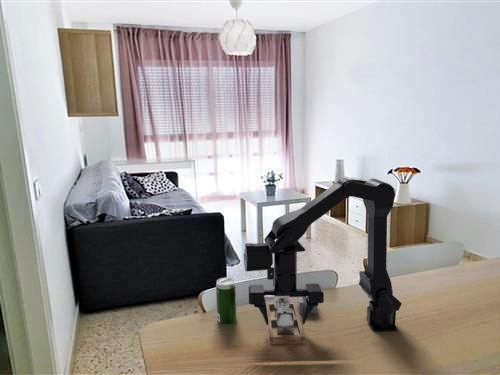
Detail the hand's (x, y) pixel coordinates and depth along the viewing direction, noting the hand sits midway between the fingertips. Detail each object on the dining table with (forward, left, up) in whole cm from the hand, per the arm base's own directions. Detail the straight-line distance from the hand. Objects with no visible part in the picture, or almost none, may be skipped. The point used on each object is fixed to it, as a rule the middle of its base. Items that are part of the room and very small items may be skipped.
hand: (285, 323), depth 100 cm
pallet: (0, -4, -3) cm, 5 cm away
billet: (0, 0, -2) cm, 2 cm away
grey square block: (-7, -12, -3) cm, 14 cm away
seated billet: (0, -8, -2) cm, 9 cm away
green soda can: (+16, -7, -3) cm, 17 cm away
